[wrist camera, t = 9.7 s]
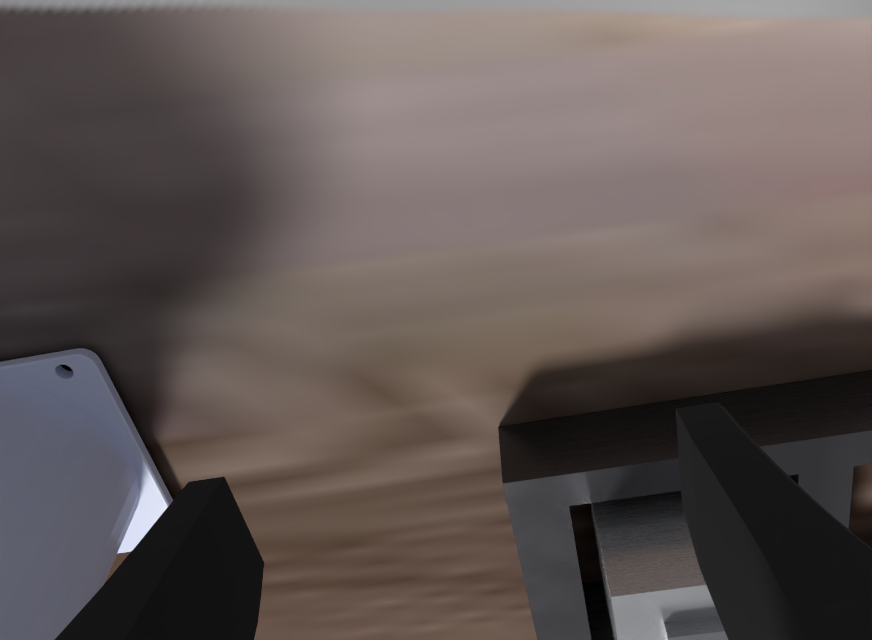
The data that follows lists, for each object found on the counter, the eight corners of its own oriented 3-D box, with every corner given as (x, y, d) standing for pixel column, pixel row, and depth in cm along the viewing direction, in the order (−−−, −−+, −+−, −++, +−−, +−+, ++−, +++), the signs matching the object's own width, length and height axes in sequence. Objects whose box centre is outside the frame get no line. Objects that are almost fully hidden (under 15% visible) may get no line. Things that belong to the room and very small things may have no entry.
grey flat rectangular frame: (538, 613, 31) (545, 673, 28) (498, 427, 26) (503, 483, 24) (1059, 548, 28) (1109, 608, 26) (1119, 332, 24) (1185, 385, 22)
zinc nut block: (598, 562, 29) (630, 723, 24) (582, 457, 27) (614, 612, 22) (743, 543, 29) (807, 703, 24) (742, 433, 26) (812, 587, 21)
